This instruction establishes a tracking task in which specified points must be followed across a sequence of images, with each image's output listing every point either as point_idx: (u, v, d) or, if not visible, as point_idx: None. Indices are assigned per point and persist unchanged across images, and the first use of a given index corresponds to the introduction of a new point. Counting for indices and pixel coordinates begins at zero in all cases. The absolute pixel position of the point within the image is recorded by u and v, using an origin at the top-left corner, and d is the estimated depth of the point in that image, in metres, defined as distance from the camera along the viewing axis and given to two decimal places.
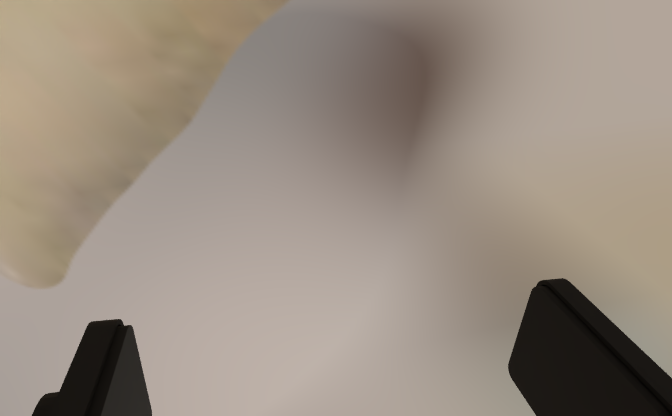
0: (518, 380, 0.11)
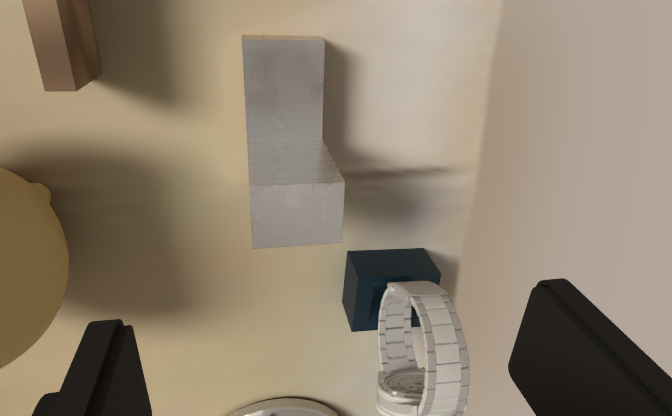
0: (518, 380, 0.11)
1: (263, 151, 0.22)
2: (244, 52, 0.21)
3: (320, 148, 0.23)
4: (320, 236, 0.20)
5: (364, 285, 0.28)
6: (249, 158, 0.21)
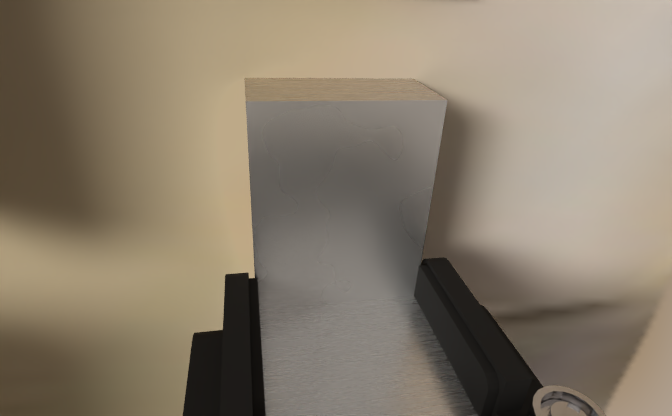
0: None
1: (297, 367, 0.09)
2: (252, 133, 0.09)
3: (425, 343, 0.10)
4: None
5: None
6: (265, 411, 0.08)
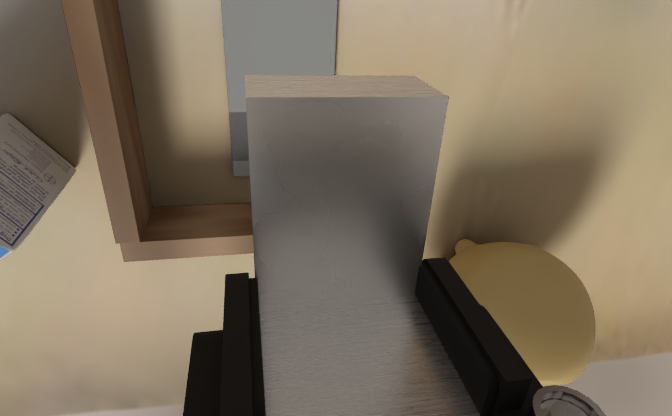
0: None
1: (297, 365, 0.09)
2: (252, 129, 0.08)
3: (426, 341, 0.10)
4: None
5: None
6: (265, 409, 0.08)
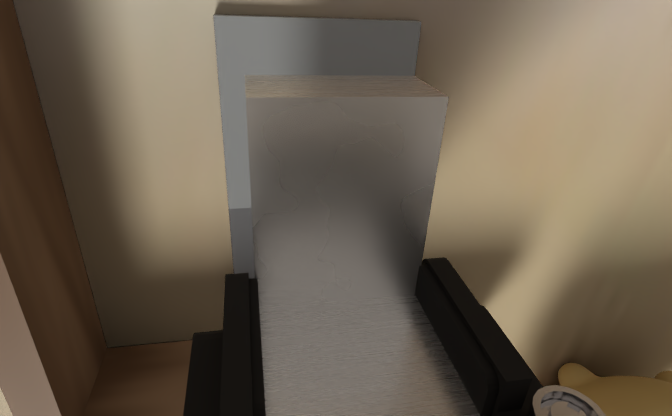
0: None
1: (297, 365, 0.09)
2: (252, 129, 0.08)
3: (426, 341, 0.10)
4: None
5: None
6: (265, 409, 0.08)
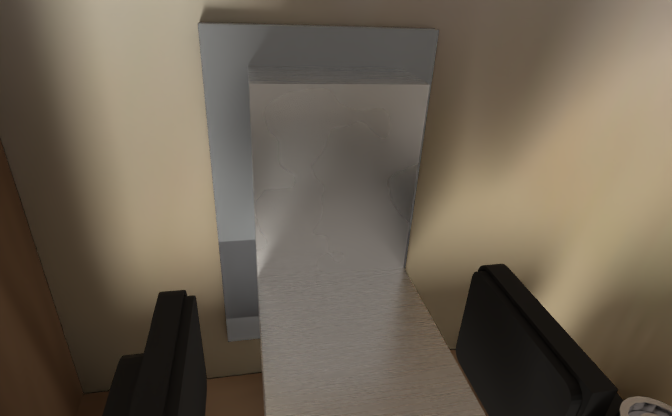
0: (463, 363, 0.12)
1: (294, 324, 0.10)
2: (254, 112, 0.10)
3: (410, 306, 0.11)
4: None
5: None
6: (266, 358, 0.09)
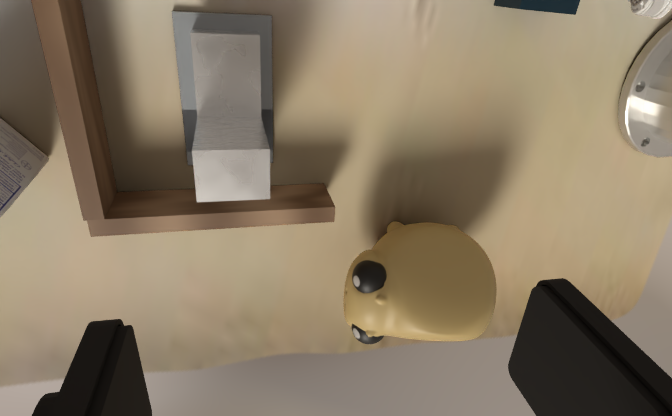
0: (518, 380, 0.11)
1: (209, 126, 0.27)
2: (192, 44, 0.26)
3: (257, 124, 0.27)
4: (252, 193, 0.25)
5: (529, 1, 0.28)
6: (196, 130, 0.26)
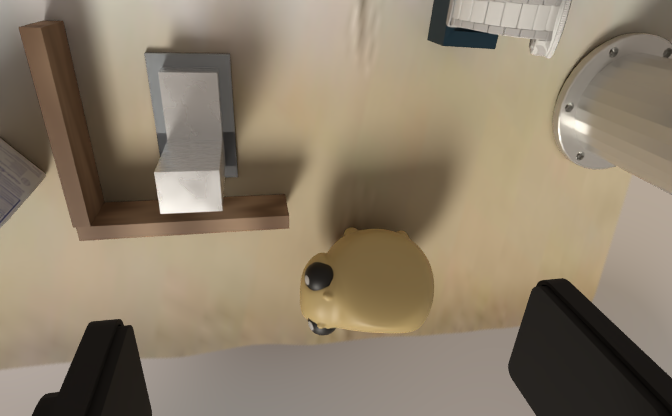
0: (518, 380, 0.11)
1: (174, 149, 0.32)
2: (160, 81, 0.31)
3: (216, 147, 0.32)
4: (206, 206, 0.30)
5: (451, 39, 0.33)
6: (162, 153, 0.31)
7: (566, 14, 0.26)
